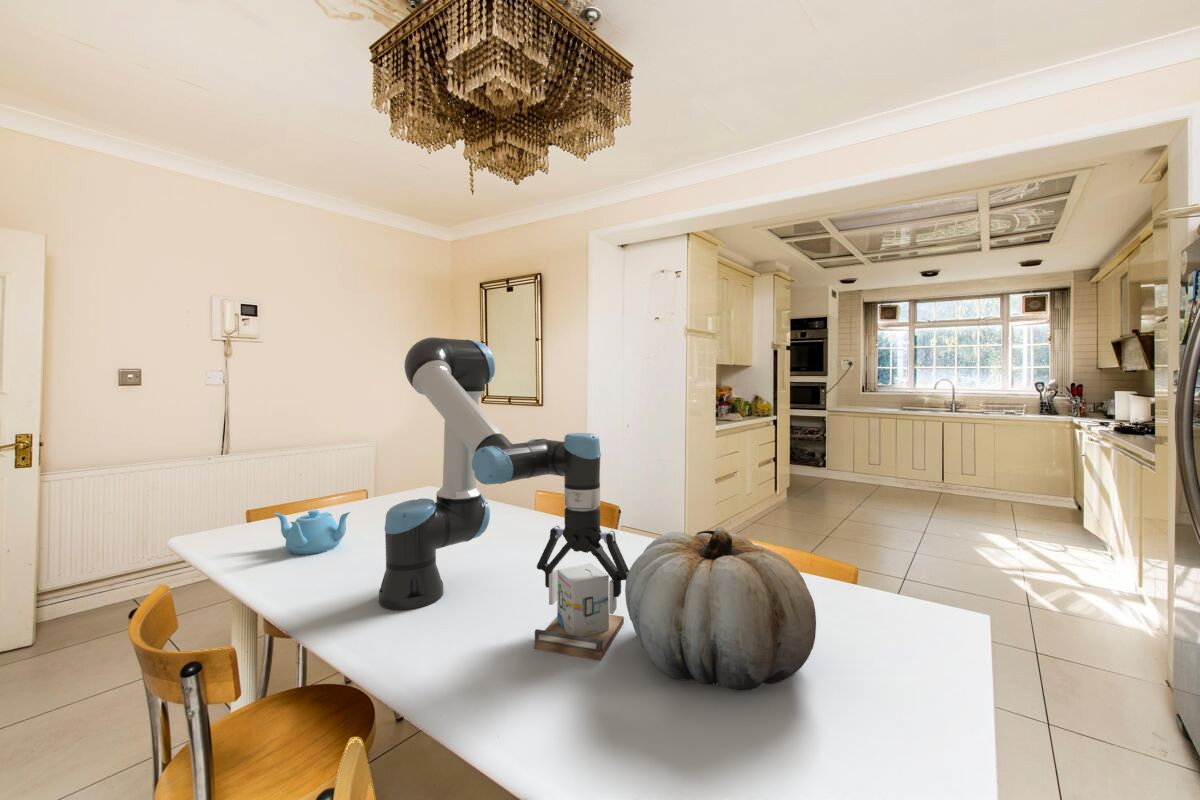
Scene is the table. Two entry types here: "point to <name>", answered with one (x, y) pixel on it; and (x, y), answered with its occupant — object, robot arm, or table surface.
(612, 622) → the brown flat block
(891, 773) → the table surface
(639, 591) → the pumpkin
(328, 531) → the teapot
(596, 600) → the ink box
